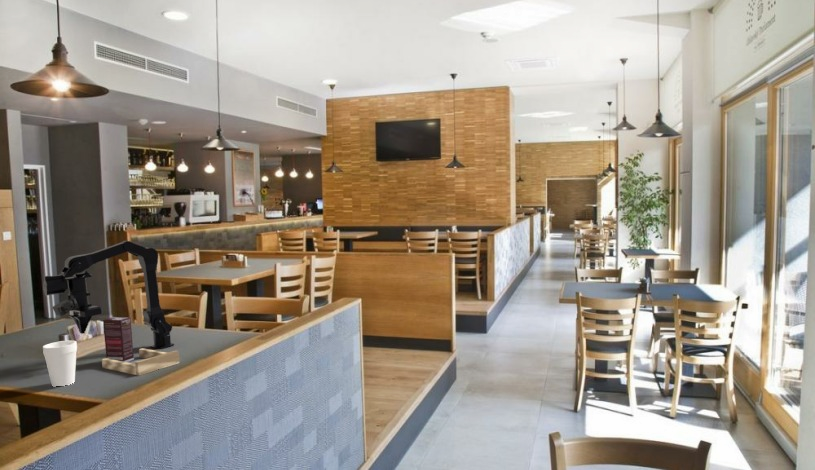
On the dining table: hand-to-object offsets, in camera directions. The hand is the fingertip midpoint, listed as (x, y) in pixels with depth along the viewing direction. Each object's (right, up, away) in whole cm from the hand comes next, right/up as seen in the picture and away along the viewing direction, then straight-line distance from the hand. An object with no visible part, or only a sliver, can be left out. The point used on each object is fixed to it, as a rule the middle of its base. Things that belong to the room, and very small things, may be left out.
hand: (82, 333), depth 209 cm
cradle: (+23, -10, -6) cm, 26 cm away
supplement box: (+13, -11, +1) cm, 17 cm away
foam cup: (+7, -12, -24) cm, 28 cm away
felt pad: (+24, -10, -6) cm, 27 cm away
